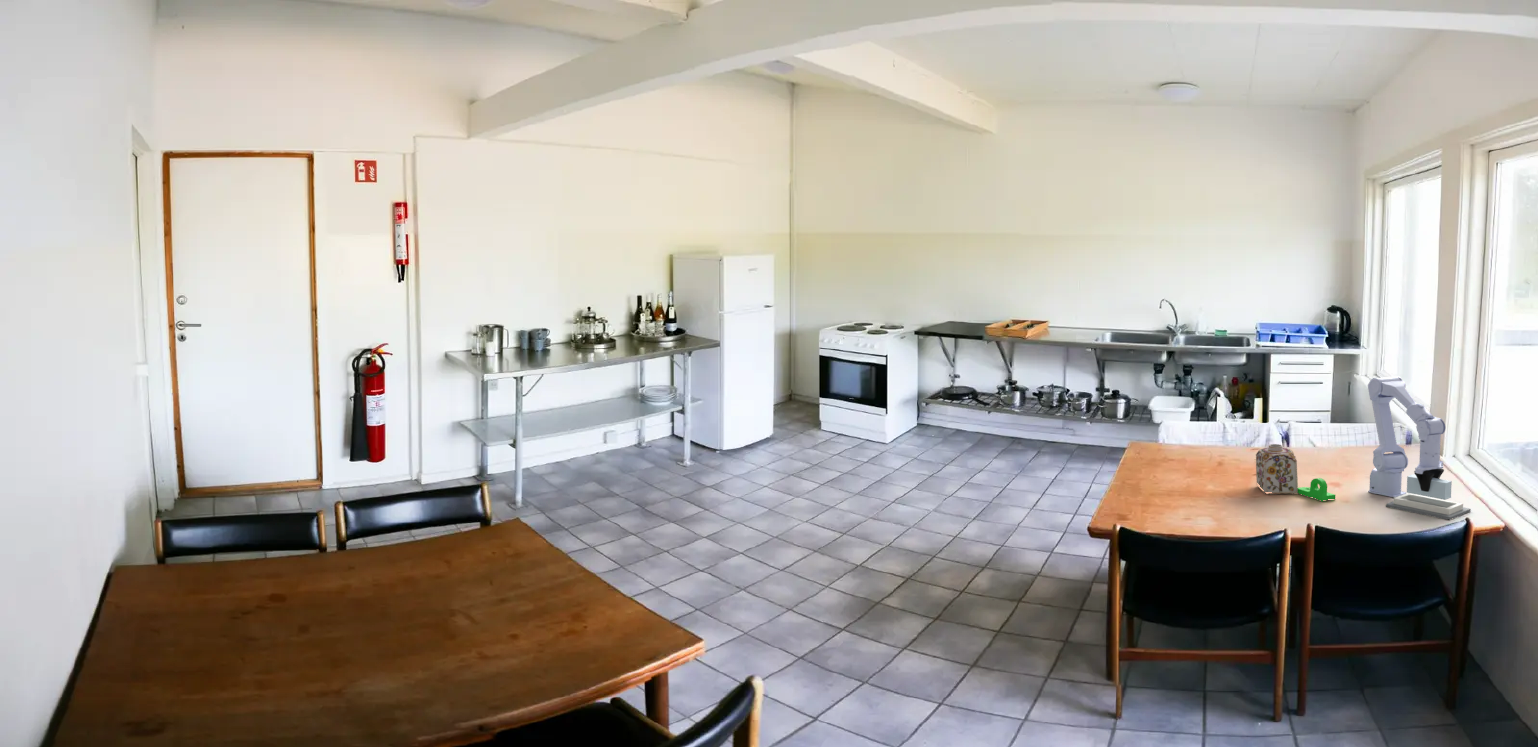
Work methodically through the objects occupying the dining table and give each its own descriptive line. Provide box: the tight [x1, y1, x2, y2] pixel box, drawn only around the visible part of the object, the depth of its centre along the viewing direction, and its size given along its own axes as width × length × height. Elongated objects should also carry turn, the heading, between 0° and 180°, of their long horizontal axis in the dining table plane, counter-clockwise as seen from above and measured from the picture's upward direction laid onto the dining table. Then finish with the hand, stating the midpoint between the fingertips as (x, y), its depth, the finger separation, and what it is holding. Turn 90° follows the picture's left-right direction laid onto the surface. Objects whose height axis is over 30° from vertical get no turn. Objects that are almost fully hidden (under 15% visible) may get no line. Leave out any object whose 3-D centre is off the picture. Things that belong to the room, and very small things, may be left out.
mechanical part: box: [1298, 477, 1336, 502], centre depth 335 cm, size 12×6×8 cm, turn 14°
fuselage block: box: [1406, 473, 1453, 501], centre depth 313 cm, size 12×4×6 cm, turn 29°
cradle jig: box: [1385, 492, 1472, 520], centre depth 314 cm, size 20×14×3 cm
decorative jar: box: [1255, 443, 1299, 493], centre depth 345 cm, size 12×12×18 cm
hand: (1428, 489), depth 313 cm, fingers closed on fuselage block, 4 cm apart
